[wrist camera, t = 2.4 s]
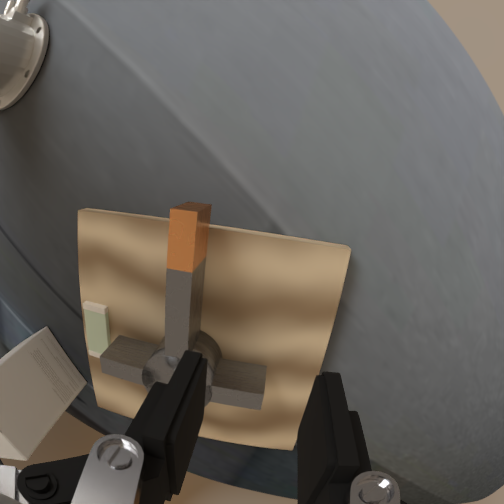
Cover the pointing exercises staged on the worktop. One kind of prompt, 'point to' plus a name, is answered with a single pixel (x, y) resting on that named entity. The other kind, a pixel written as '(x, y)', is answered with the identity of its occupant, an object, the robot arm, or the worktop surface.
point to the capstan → (186, 324)
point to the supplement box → (34, 392)
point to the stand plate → (219, 312)
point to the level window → (96, 327)
